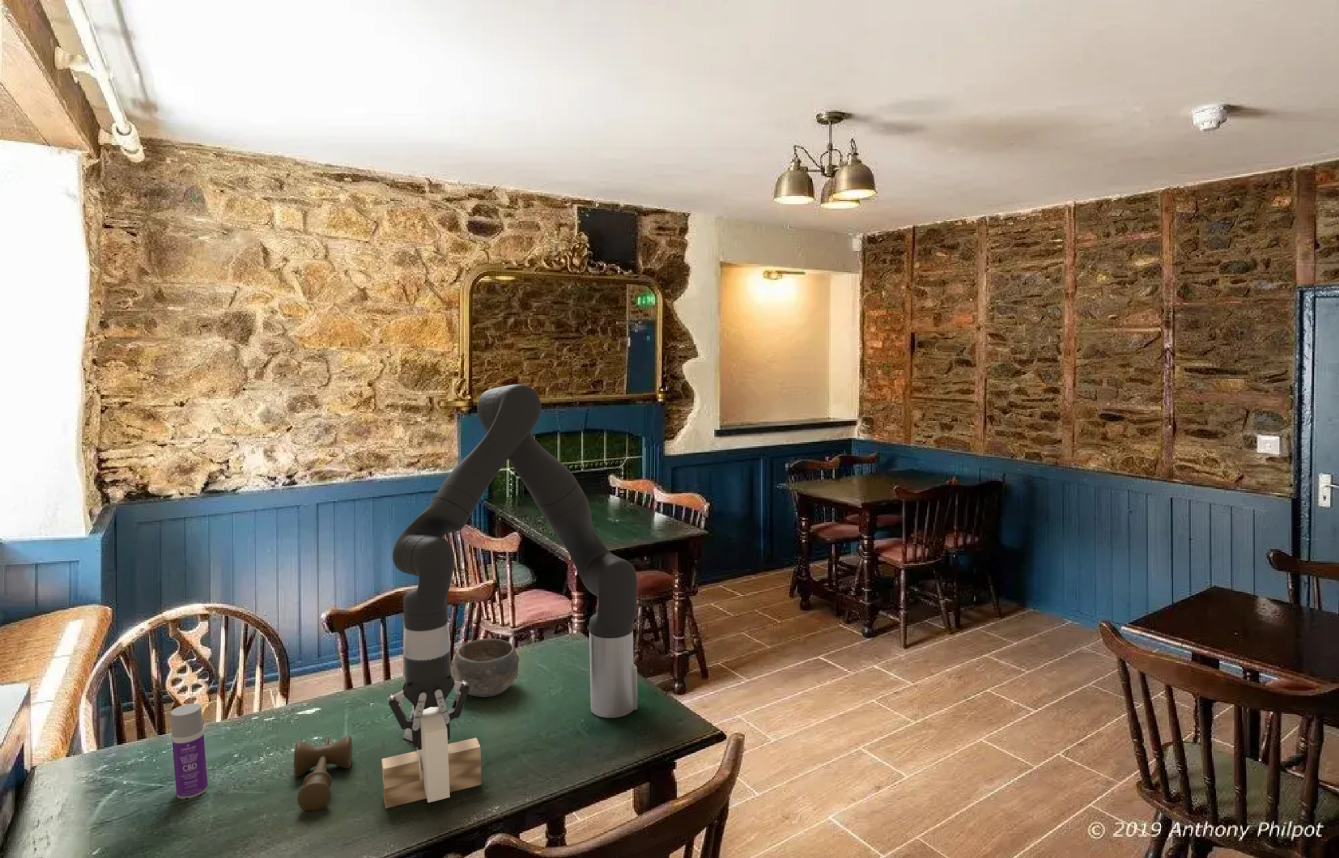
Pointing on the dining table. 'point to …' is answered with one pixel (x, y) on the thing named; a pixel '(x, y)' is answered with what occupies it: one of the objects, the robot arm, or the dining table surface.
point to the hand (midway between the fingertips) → (431, 744)
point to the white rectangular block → (434, 755)
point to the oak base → (408, 780)
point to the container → (189, 751)
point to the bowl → (486, 666)
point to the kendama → (319, 770)
